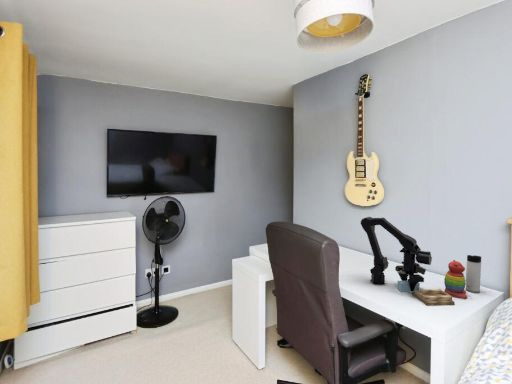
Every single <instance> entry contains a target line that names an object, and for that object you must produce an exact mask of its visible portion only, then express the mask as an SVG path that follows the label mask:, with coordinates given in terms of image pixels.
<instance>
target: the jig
mask: <svg viewBox="0 0 512 384" xmlns="http://www.w3.org/2000/svg"><path fill="white" fill-rule="evenodd" d="M412 295H413V297H414V298H416V299H418V300H419V301H420V302H421V303H423V305H424V306H427V307H429V306H454V305H455V301H454V300H453V296H450V295H449V294H447V293H446V292H444V290H442V289H441V288H439V289H438V288H436V289H433V288H432V289H419V290H415V292H412Z"/></svg>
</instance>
